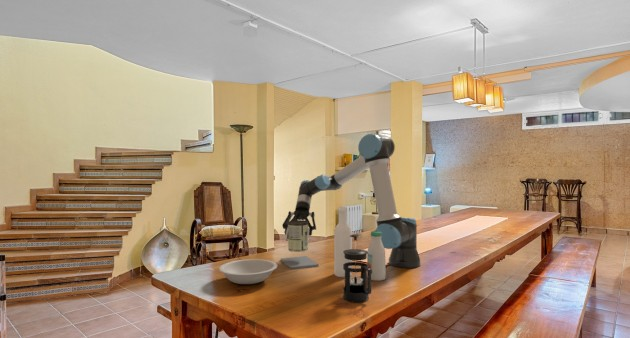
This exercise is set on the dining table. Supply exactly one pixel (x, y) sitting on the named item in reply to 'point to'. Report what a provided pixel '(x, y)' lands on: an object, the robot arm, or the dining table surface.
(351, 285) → the french press
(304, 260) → the grey mat
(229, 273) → the soup bowl
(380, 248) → the milk bottle
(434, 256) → the dining table surface
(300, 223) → the coffee can
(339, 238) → the bottle
